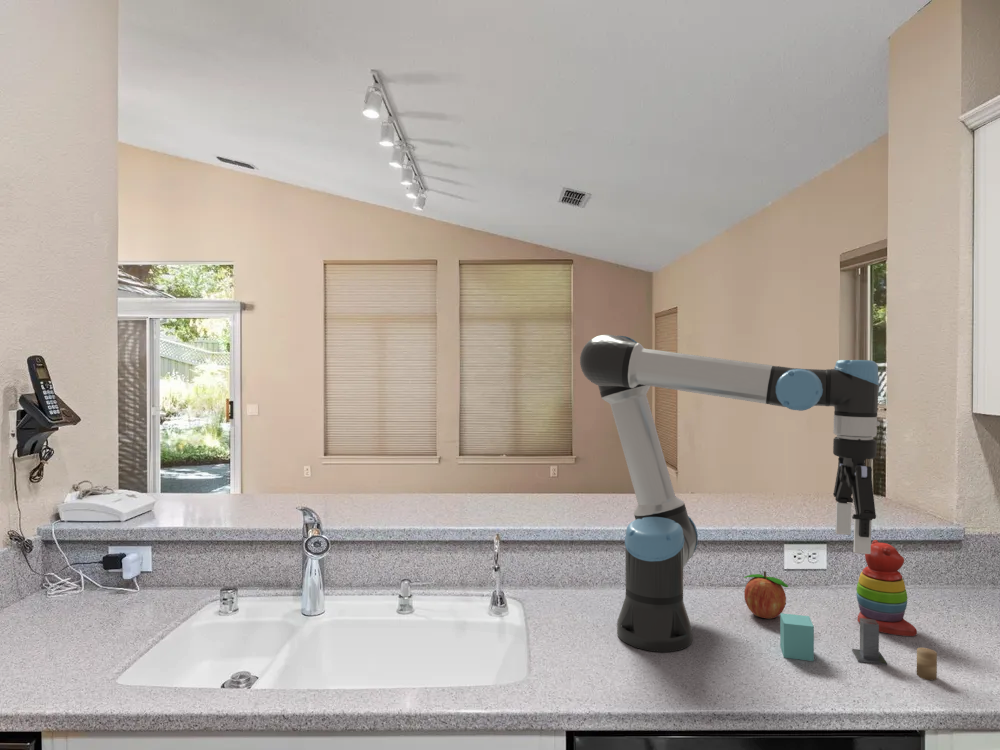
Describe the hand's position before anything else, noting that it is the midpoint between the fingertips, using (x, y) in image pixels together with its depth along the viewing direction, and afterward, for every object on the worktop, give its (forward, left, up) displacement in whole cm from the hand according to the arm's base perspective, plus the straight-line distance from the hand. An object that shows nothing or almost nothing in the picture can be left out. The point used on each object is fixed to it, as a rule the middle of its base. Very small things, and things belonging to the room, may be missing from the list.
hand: (851, 543), depth 125 cm
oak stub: (+10, -10, -21) cm, 25 cm away
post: (+2, -5, -21) cm, 21 cm away
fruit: (-15, +11, -21) cm, 28 cm away
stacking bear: (+9, +13, -21) cm, 26 cm away
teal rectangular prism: (-11, -7, -21) cm, 24 cm away
